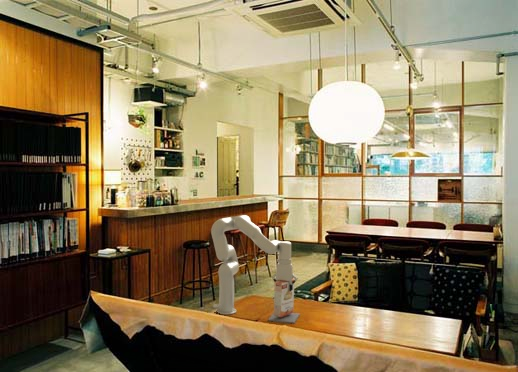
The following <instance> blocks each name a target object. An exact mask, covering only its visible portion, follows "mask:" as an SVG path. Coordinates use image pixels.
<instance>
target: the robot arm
mask: <svg viewBox="0 0 518 372" xmlns="http://www.w3.org/2000/svg"><path fill="white" fill-rule="evenodd" d="M232 230H239V231H240V232H241V233H243V234H244V235H246V236H247V237H248V238H249V239H251V240H252V241H253V243H254V245H256V247H258V248H259V249H260V250H262V251H263V252H265V253H267V254H269V255H273V254H275V253H277V252H278V258H277V259H276V262H277V264H276V269H275V270H276V272H275V273H274V274H273V275H272V276H271V279H272V280H273V282H274V283H275V282H276V281H289V282H290V291H292V290H293V284H294V285H295V283H296V282H297V281H298V280H299V278H298V276H296V275H295V274H294V270H293V264H292V242H290V241H287V240H285V241H283V240H277V239H272V240H270V239H268V238H267V237H266V236H265V235H264V234H263V233H262V230H261V228H260V227H259V226H257V225H256V224H255V223H253V222H252V221H251V217H250V216H248V215H246V214H241V215H237V216H229V217H223V218H219V219H217V220H216V221H215V222H214V223H213V224H212V226H211V229H210V232H211V237H212V241H213V246H214V250H215V254H216V258H217V260H219V261H221V262H223V263H222V264H220V266H219V268H218V271H217V274H218V280H219V281H218V282H219V284H218V287H219V288H218V289H219V292H218V293H219V295H218V298H219V300H218V301H219V302H218V304H217V303H214V304H213V305H212V307H213V309H216V313H217V312H218V313H217V314H219V313H220V315H227V316H228V315H233V314H236V313H237V309H236V308H235V305H234V304H235V279H234V275H236V274H237V273H238V272H239V269H240V266H239V265H240V264H239V260H238V255H237V252H236V249H235V247H234V246H233V245H231V244H228V240H227V237H226V234H225V232H228V231H232ZM292 279H293V280H294V281H292Z"/></svg>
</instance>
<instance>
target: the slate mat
mask: <svg viewBox="0 0 518 372" xmlns="http://www.w3.org/2000/svg"><path fill="white" fill-rule="evenodd" d="M300 315H301V314H300V313H298V312H293V313H291V314H288V315H286V316H283V317H277V316H274V312H273V313H272V314H271V315H270V316H269V318H268V319H267V322H271V321H273V322H274V323H281V324H290V323H292V324H293V325H294V324H296V322H297V320H298V319H299V317H300ZM273 322H272V323H273ZM292 324H291V325H292Z"/></svg>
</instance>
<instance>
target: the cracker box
mask: <svg viewBox="0 0 518 372" xmlns="http://www.w3.org/2000/svg"><path fill="white" fill-rule="evenodd" d="M294 280H295V279H294V278H293V279H292V281H294ZM273 292H274V294H273V295H274V296H273V300H274V301H273V313H274V316H277V317H283V316H286V315H288V314H291V313H294V300H295V299H294V297H295V295H294V294H295V283H294V284H293V290H292V291H290V282H289V281H280V280H279V281H276V282H274V291H273Z"/></svg>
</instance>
